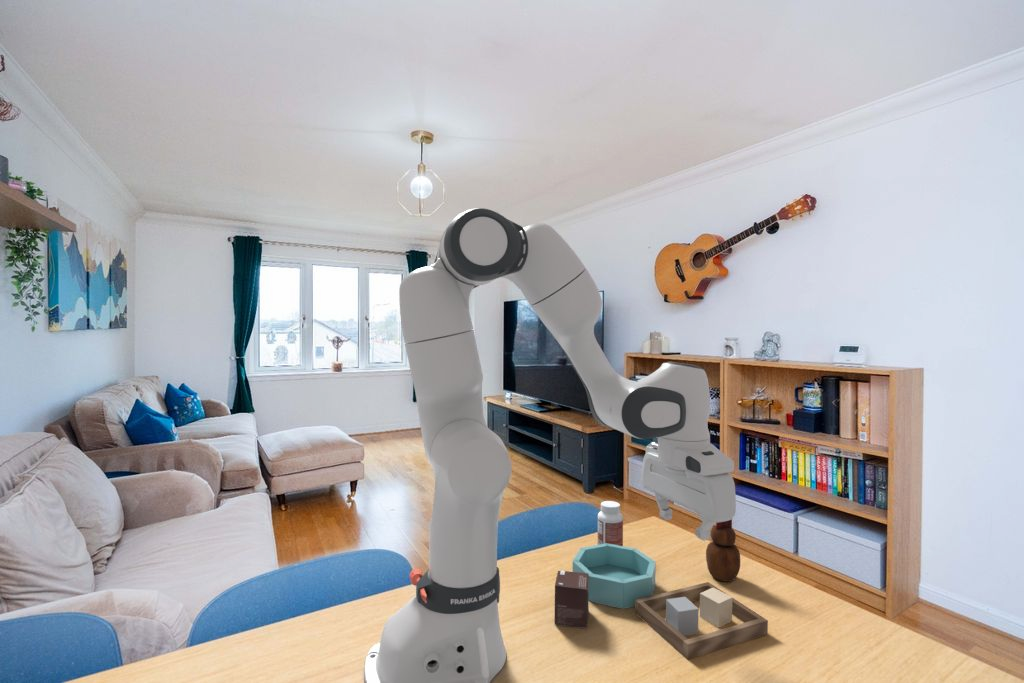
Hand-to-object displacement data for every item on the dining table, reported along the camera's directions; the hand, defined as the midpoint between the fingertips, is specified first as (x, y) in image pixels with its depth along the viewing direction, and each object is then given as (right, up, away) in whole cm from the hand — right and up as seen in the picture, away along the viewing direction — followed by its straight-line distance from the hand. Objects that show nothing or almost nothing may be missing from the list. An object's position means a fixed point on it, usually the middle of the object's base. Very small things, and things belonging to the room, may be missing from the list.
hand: (683, 528), depth 86 cm
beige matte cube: (+7, -18, +3) cm, 20 cm away
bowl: (-9, -18, +15) cm, 25 cm away
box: (-20, -18, +3) cm, 27 cm away
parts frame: (+3, -18, +2) cm, 19 cm away
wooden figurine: (+15, -18, +18) cm, 30 cm away
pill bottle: (-7, -18, +32) cm, 37 cm away
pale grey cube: (0, -18, 0) cm, 18 cm away
